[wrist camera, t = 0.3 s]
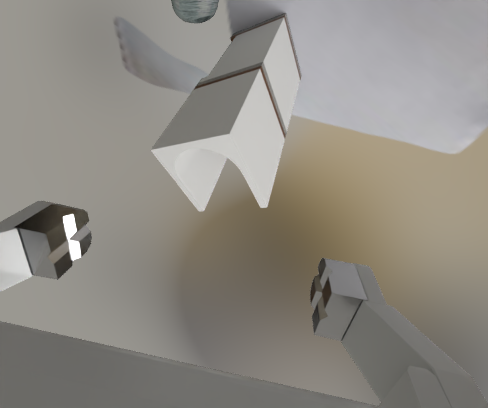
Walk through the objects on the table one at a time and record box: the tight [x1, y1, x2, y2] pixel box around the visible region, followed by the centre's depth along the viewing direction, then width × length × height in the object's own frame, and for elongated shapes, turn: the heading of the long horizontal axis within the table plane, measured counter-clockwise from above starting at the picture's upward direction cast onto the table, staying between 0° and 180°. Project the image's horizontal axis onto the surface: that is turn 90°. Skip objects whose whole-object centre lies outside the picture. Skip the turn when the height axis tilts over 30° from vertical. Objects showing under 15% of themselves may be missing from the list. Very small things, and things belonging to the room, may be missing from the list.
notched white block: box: [151, 13, 301, 211], centre depth 43 cm, size 11×11×35 cm
